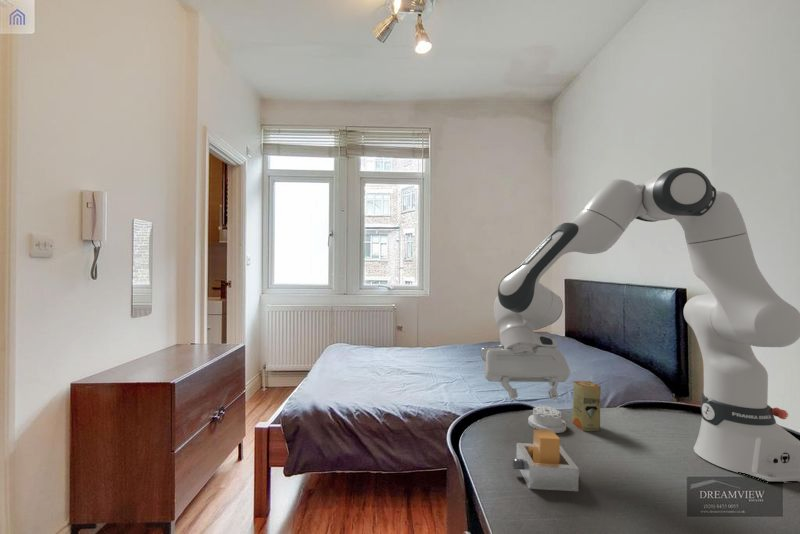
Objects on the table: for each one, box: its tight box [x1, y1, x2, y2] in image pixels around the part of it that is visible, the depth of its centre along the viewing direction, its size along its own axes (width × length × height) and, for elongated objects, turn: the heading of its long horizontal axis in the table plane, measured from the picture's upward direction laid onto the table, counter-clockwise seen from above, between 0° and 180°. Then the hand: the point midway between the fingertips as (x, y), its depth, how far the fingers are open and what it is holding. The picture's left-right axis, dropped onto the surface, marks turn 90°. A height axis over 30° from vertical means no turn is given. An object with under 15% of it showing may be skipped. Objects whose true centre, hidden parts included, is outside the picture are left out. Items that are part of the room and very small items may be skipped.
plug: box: [532, 428, 561, 464], centre depth 77 cm, size 4×4×9 cm
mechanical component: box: [527, 405, 567, 434], centre depth 102 cm, size 10×4×10 cm
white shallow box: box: [511, 442, 580, 492], centre depth 77 cm, size 12×10×4 cm
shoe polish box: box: [572, 380, 602, 432], centre depth 101 cm, size 5×5×12 cm
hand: (534, 397), depth 83 cm, fingers open, 8 cm apart
